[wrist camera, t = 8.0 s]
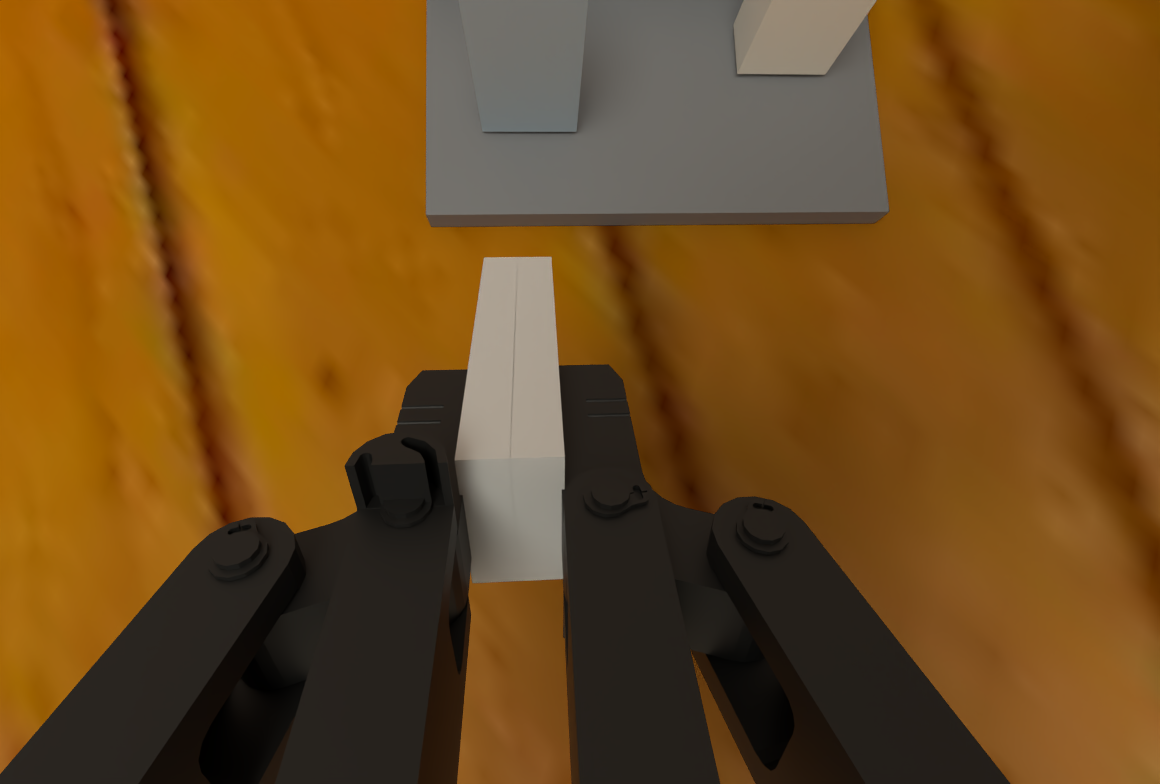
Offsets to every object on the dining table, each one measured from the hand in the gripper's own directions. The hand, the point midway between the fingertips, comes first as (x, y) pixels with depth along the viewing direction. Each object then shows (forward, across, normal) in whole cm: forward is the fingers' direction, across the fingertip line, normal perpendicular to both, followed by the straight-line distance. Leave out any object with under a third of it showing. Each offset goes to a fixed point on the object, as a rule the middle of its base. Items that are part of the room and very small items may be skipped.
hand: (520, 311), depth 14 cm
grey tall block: (+23, 0, 0) cm, 23 cm away
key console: (+25, +7, 0) cm, 26 cm away
